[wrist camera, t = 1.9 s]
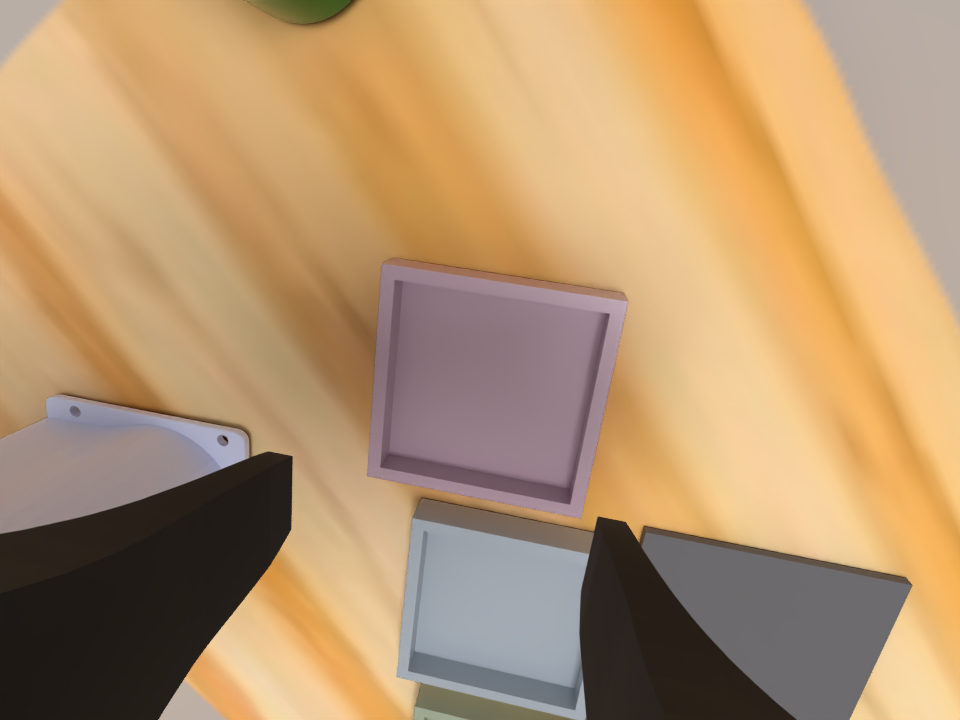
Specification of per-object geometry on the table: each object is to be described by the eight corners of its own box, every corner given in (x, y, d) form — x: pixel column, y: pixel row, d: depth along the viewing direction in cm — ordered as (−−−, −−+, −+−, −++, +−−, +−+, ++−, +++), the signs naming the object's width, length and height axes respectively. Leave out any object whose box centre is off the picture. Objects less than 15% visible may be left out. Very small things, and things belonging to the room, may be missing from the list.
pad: (596, 707, 26) (597, 715, 25) (644, 526, 22) (645, 532, 22) (822, 760, 24) (826, 769, 24) (906, 578, 21) (912, 585, 21)
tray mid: (405, 650, 26) (396, 677, 25) (422, 497, 24) (412, 518, 22) (583, 691, 25) (584, 721, 24) (622, 538, 23) (625, 561, 21)
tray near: (379, 458, 23) (367, 476, 22) (394, 257, 21) (381, 263, 19) (580, 497, 22) (581, 518, 21) (624, 293, 20) (628, 301, 18)
